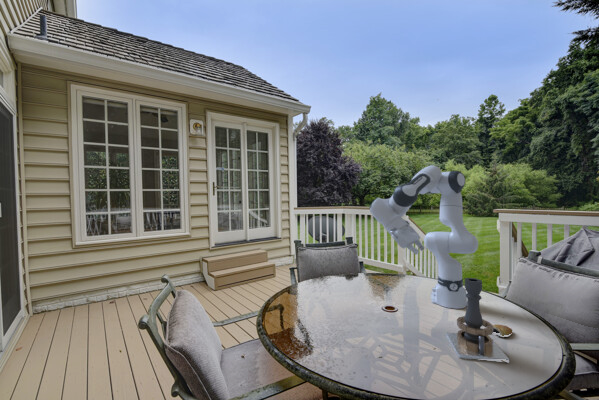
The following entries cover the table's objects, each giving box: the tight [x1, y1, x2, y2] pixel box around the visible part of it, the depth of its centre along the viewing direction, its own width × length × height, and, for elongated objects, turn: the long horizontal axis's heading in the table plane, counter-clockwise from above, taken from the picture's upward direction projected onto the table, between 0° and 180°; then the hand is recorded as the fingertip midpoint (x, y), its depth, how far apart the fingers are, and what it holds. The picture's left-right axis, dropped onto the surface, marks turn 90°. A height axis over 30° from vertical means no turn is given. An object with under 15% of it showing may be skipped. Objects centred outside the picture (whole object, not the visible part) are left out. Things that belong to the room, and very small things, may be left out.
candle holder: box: [464, 277, 484, 343], centre depth 105 cm, size 6×6×25 cm
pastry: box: [492, 324, 513, 336], centre depth 115 cm, size 9×7×4 cm
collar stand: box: [445, 315, 510, 361], centre depth 105 cm, size 16×16×10 cm
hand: (420, 251), depth 117 cm, fingers open, 8 cm apart
